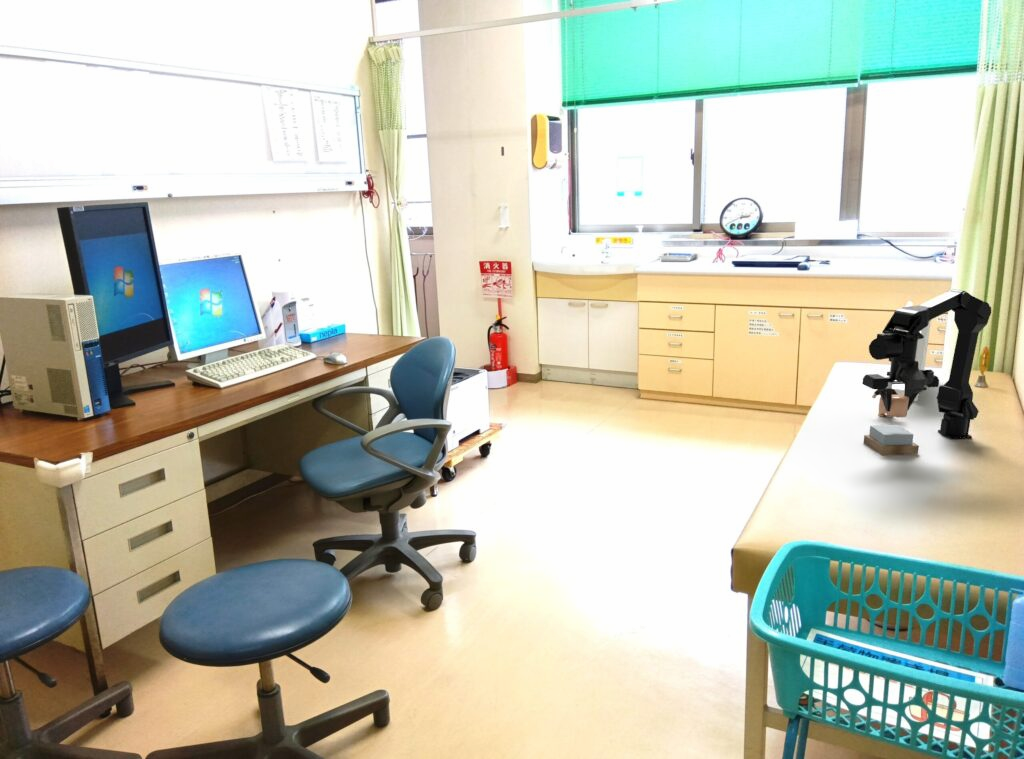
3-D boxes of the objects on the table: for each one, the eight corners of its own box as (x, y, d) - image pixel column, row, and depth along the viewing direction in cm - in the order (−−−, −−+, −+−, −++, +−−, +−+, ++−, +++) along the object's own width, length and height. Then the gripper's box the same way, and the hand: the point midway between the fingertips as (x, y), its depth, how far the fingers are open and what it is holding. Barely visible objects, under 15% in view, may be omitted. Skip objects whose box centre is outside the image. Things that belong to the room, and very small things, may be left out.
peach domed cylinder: (900, 411, 211) (902, 394, 209) (910, 416, 206) (913, 399, 205) (882, 412, 210) (884, 394, 209) (893, 417, 205) (895, 400, 204)
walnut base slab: (897, 443, 216) (898, 433, 216) (917, 456, 207) (918, 445, 206) (863, 444, 216) (864, 435, 215) (882, 457, 206) (883, 447, 205)
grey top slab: (897, 434, 214) (898, 424, 214) (912, 444, 207) (913, 434, 206) (869, 435, 214) (870, 425, 214) (883, 445, 207) (884, 434, 206)
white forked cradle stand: (916, 401, 253) (927, 319, 245) (890, 398, 257) (900, 317, 249) (923, 377, 282) (933, 303, 274) (899, 374, 286) (908, 301, 278)
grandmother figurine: (896, 414, 240) (901, 376, 236) (897, 418, 236) (902, 379, 233) (869, 412, 242) (874, 374, 239) (870, 416, 239) (875, 377, 235)
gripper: (887, 364, 195) (880, 421, 199) (956, 361, 197) (947, 418, 201) (864, 354, 206) (858, 408, 210) (929, 351, 208) (922, 406, 212)
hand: (896, 410), depth 208 cm, fingers closed on peach domed cylinder, 5 cm apart
